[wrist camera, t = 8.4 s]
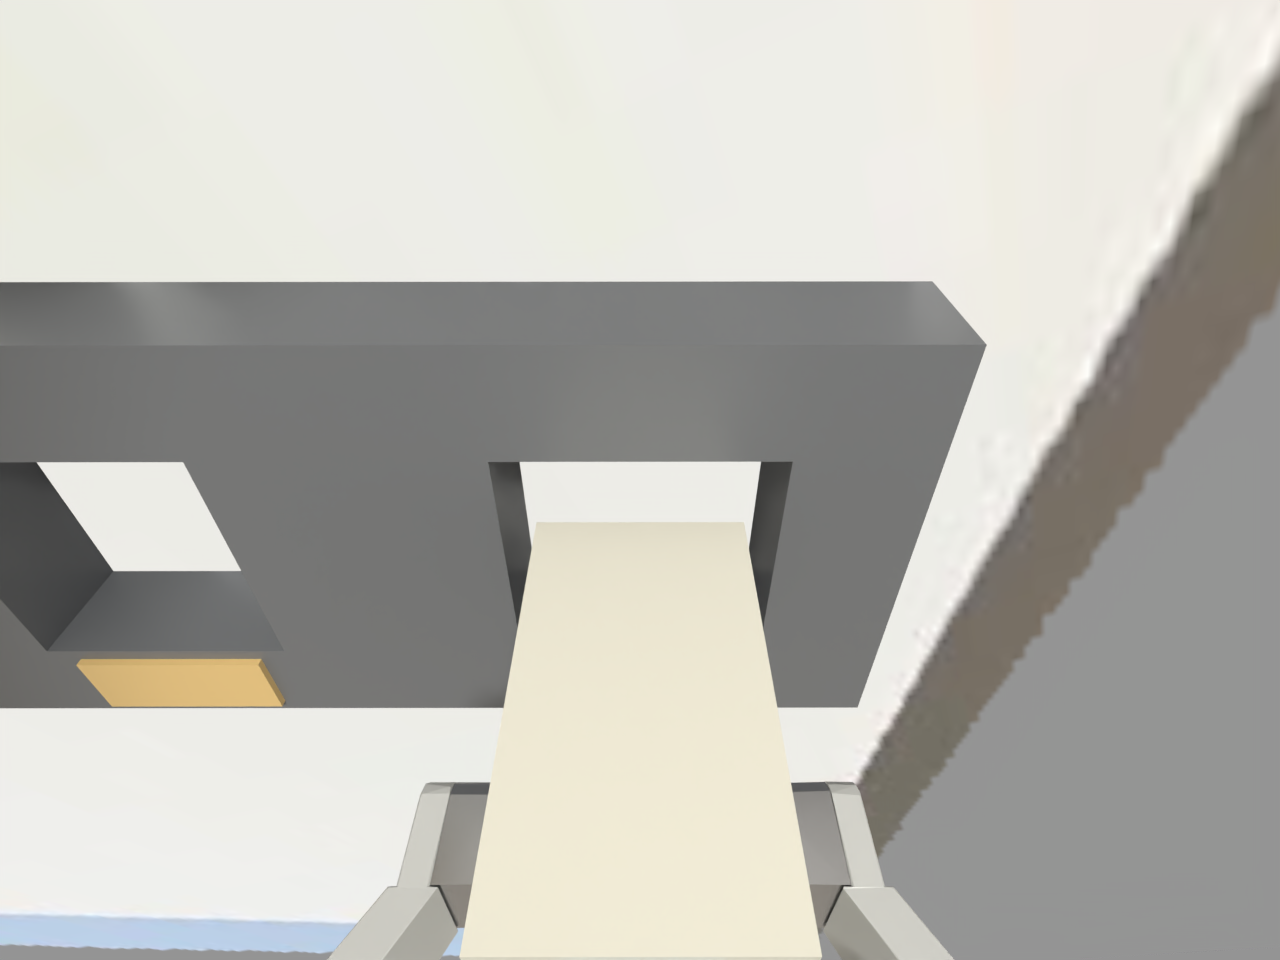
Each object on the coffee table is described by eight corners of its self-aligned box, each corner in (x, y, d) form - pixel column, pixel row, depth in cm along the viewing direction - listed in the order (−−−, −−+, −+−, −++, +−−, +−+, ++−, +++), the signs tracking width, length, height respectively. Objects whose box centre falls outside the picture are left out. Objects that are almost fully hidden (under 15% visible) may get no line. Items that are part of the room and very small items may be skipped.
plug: (536, 522, 15) (427, 1134, 7) (744, 521, 15) (854, 1134, 7) (553, 651, 17) (488, 1188, 10) (726, 651, 17) (793, 1187, 10)
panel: (-237, 282, 15) (-412, 351, 12) (932, 281, 15) (991, 349, 12) (56, 628, 22) (-17, 714, 20) (835, 627, 22) (859, 713, 20)
